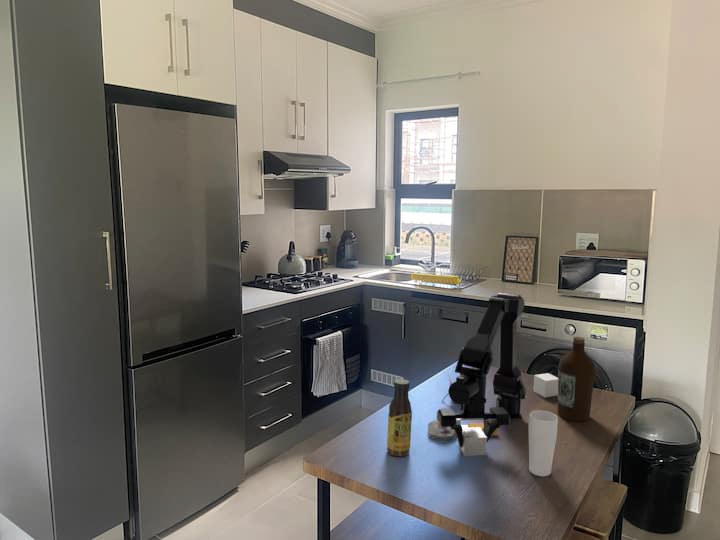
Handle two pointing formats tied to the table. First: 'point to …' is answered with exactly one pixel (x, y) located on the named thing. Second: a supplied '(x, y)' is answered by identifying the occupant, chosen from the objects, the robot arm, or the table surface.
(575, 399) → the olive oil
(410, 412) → the sauce bottle
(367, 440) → the table surface
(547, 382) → the white cube
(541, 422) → the drinking glass
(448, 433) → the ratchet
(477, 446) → the brushed metal cube
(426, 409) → the table surface
